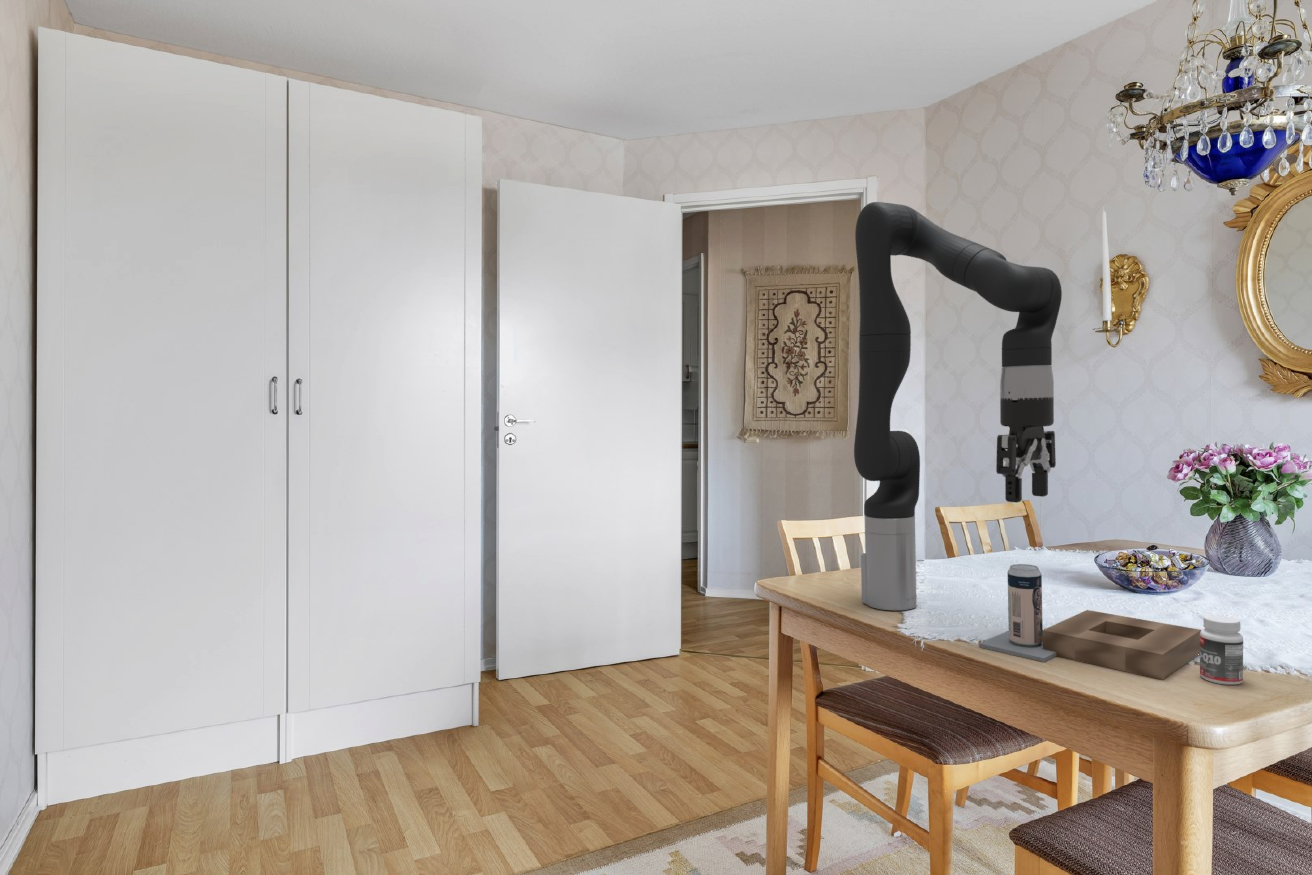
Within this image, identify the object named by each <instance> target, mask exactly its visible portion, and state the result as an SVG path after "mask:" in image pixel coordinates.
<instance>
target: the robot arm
mask: <svg viewBox="0 0 1312 875" xmlns="http://www.w3.org/2000/svg"><path fill="white" fill-rule="evenodd" d="M854 234H855V235H854V236H855V238H854V240H855V251H856V263H857V272H858V274H857V275H858V282H859V283H858V287H859V289H858V290H859V337H858V338H859V340H858V344H859V348H858V350H859V352H858V354H859V355H858V357H859V379H858V380H859V385H858V407H857V417H856V427H855V434H854V442H853V443H854V445H853V458H854V464H855V467H856V470H857V472H858V474H859V475H860V476H861V477H862V478H863V479H864V480H867V481H869V482H879V485H878V488H877V490H876V491H875V492H874V493H873V494H872V495H871V496H869V497H868V498H867V499H866V500H865V501H864V504H863V510H864V512H863V513H864V553H861V555H860V576H861V577H860V578H861V581H860V582H861V603H862V604H865V605H867V606H868V607H871V608H873V609H877V610H885V611H907V610H912V609H915V608H916V607H917V605H918V604H917V597H918V595H917V560H916V559H917V555H916V553H917V552H916V549H917V548H916V546H917V545H916V506H917V504H918V501H919V499H920V498H919V496H920V480H921V479H920V474H921V456H920V450H919V446H918V443H917V441H916V439H915V438H914V436H913V435H911V434H910V433H908V432H907V431H904V430H891V416H892V414H891V413H892V407H893V402H894V400H895V397H896V395H897V392H898V391H899V388H900V386H901V384H902V383H903V380H904V378H905V376H906V373H907V371H908V368H909V366H910V362H911V345H912V337H911V333H912V331H911V330H912V329H911V323H910V318H909V316H908V314H907V311H906V309H905V307H904V304H903V302H902V300H901V299H900V296H899V294H898V292H897V290H896V287H895V284H894V281H893V277H892V276H893V275H892V264H891V262H892V261H891V260H892V259H891V258H892V256H895V257H896V256H905V257H911V258H916V259H918V260H919V259H920V260H922V261H925V262H927V263H929V264H930V265H932V266H933V267H934V268H935V269H936V270H937V271H938V272H939V273H940V274H941V275H942V276H944V277H945V278H947V279H948V280H950V281H952V282H953V283H955V284H958V285H960V286H962V287H964V288H966V289H969V290H971V291H973V292H976V293H977V294H978V295H979V296H980V297H981V298H982V299H983V300H985V301H986V302H988V303H989V304H991V305H992V306H994V307H996V308H997V309H1000V310H1003V311H1006V312H1011V313H1018V317H1017V322H1016V326H1015V327H1014V328H1012V329H1010V330H1008V331H1006V332H1004V333H1003V336H1002V340H1001V341H1002V342H1001V374H1000V380H999V382H1000V384H999V386H1000V387H999V390H1000V392H999V400H1000V402H999V403H1000V404H999V408H1000V410H999V411H1000V414H999V415H1000V418H999V419H1000V425H1001V426H1002V427H1008V428H1009V430H1008V434H998V435H997V438H996V466H995V467H996V469H995V471H996V474H998V475H1002V476H1003V477H1004V478H1005V479H1004V481H1005V485H1004V486H1005V493H1004V494H1005V501H1006V502H1007V503H1020V502H1021V501H1022V500H1023V495H1022V494H1023V492H1022V491H1023V488H1022V486H1023V484H1022V481H1023V478H1022V474H1023V472H1024V468H1025V467H1027V466H1030V468H1031V471H1032V472H1031V494H1032V496H1034V497H1042V498H1043V497H1044V498H1045V497H1047V496H1048V493H1049V474H1050V472H1051V469H1052V468H1053V469H1054V468H1056V458H1057V457H1056V437H1055V436H1056V433H1055V431H1054V430H1045V428H1044V427H1050V426H1052V425H1054V422H1055V421H1054V420H1055V419H1054V412H1055V411H1054V410H1055V409H1054V405H1055V403H1054V400H1055V399H1054V397H1055V396H1054V395H1055V394H1054V393H1055V392H1054V387H1055V385H1054V374H1053V367H1052V366H1053V365H1052V364H1053V363H1052V362H1053V359H1052V358H1053V355H1052V353H1053V352H1052V350H1053V349H1052V346H1053V344H1052V338H1053V334H1054V331H1055V328H1056V325H1057V320H1058V316H1059V313H1060V308H1061V303H1062V296H1063V292H1062V285H1061V281H1060V279H1059V277H1058V275H1057V274H1056V272H1054V271H1053V270H1051V269H1050V268H1047V267H1043V266H1041V267H1040V266H1031V265H1030V266H1029V265H1028V266H1027V265H1020V264H1017V263H1015V262H1010V261H1008V260H1007V258H1006V257H1005V255H1003V254H1002V253H1000V252H998V251H996V249H995V250H994V249H992V248H990V247H988V246H985V245H982V244H980V243H977V242H976V241H972V240H970V239H967V238H965V237H961V236H960V235H957V234H954V233H951V231H950V232H949V231H947V230H945V229H943V227H941V226H939V225H938V224H936V223H934V221H933V222H932V220H930V219H929V218H927V217H926V216H924V215H923V214H921V213H920V212H918V211H917V210H915V209H914V208H912V207H911V206H909V205H904V204H898V203H892V202H884V201H871V202H870V203H867V204H865V206H864V207H863V208H862V209H861V211H860V213H859V214H858V217H857V220H856V223H855V233H854Z"/></svg>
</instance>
